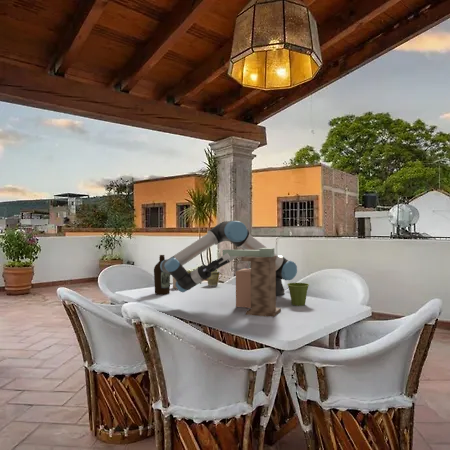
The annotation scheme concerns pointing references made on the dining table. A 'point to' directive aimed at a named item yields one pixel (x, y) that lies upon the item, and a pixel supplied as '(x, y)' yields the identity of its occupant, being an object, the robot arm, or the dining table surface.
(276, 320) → the dining table surface
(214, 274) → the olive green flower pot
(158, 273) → the olive oil
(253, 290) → the tall stand
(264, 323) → the dining table surface
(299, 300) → the plant pot
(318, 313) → the dining table surface
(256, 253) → the handle rail
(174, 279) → the teacup with lid
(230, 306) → the dining table surface
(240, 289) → the reddish brown block
